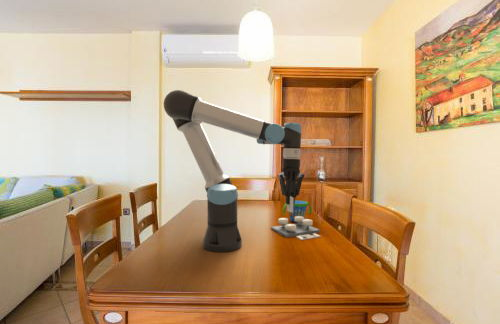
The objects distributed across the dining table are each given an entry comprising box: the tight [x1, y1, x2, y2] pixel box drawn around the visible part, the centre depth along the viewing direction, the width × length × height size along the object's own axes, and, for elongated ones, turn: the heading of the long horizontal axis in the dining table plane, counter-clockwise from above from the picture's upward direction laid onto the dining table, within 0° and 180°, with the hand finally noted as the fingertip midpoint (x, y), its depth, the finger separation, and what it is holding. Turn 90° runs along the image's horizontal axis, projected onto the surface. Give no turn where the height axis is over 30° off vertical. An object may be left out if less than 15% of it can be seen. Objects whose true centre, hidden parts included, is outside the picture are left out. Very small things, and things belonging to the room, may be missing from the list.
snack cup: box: [282, 199, 312, 223], centre depth 147 cm, size 16×10×10 cm
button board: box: [271, 222, 321, 238], centre depth 130 cm, size 18×13×1 cm
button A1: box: [285, 223, 296, 232], centre depth 125 cm, size 5×5×3 cm
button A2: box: [277, 217, 289, 227], centre depth 130 cm, size 5×5×3 cm
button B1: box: [301, 218, 314, 228], centre depth 128 cm, size 5×5×3 cm
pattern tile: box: [295, 233, 322, 241], centre depth 120 cm, size 10×4×1 cm, turn 115°
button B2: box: [294, 216, 304, 225], centre depth 134 cm, size 5×5×3 cm
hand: (289, 211), depth 124 cm, fingers closed
